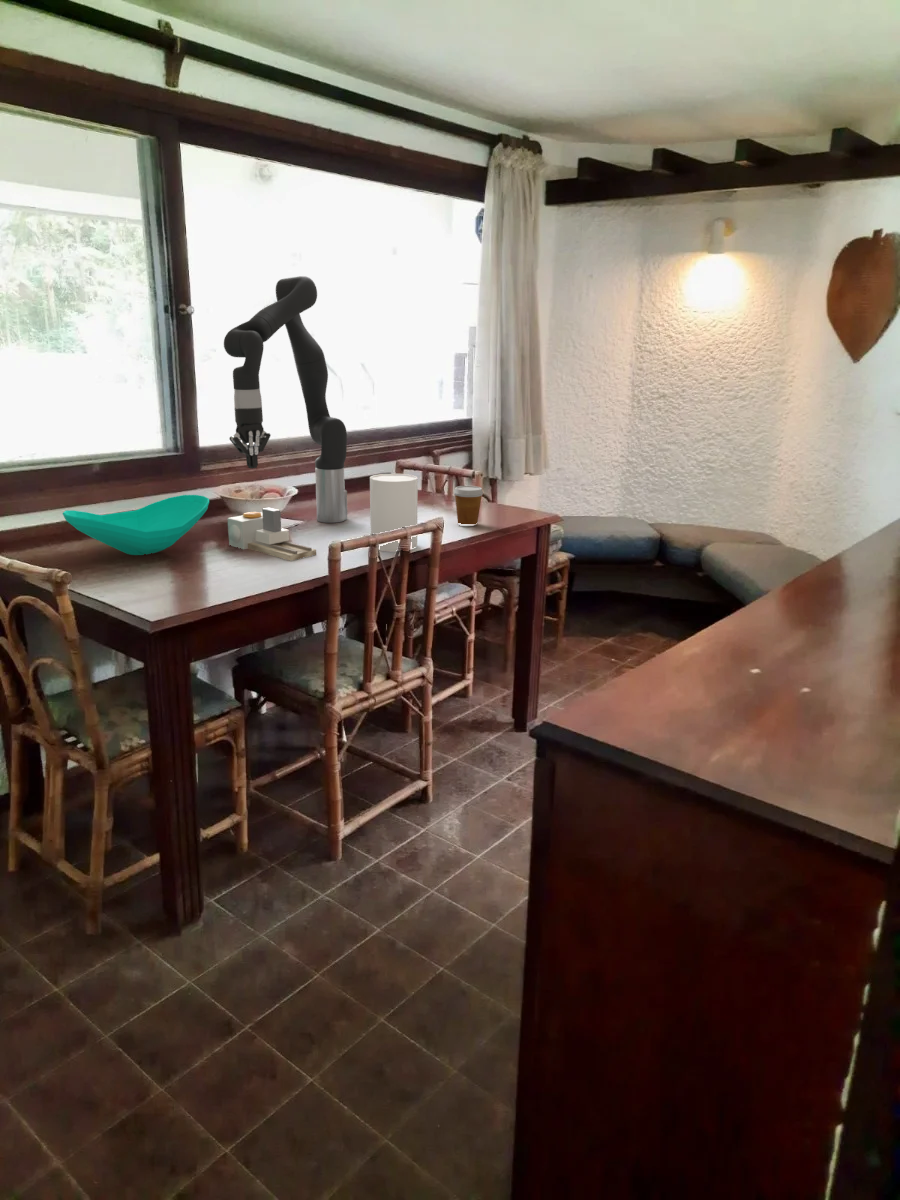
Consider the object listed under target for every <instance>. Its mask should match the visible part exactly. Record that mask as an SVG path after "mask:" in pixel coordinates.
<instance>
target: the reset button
mask: <svg viewBox="0 0 900 1200" xmlns="http://www.w3.org/2000/svg"><path fill="white" fill-rule="evenodd" d="M242 515H243V516H244V517H246V518H248V519H254V518H259V517H260V516H261V513H259V512H258V511H250V512H249V511H247V512H244V513H243V514H242Z"/></svg>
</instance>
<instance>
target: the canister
mask: <svg viewBox="0 0 900 1200" xmlns="http://www.w3.org/2000/svg"><path fill="white" fill-rule="evenodd" d="M418 479H419V478H418V476H416V475H413V474H407V473H406V474H405V473H381V474H374V475H371V476H369V503H370V504H369V505H370V506H369V511H370V513H369V515H370V516H369V519H370V521H369V522H370V527H369V528H370V535H371V534H373V533H380V532H385V531H390V530H394V529H398V528H401V527H405V526H410V525H416V524H417V525H418V490H419V489H418V488H419V487H418V482H419V481H418ZM411 542H412V548H414V547H416V546H417V547H418V535H417V536H416V537H412V539H411ZM398 544H399V543H398V541H395V542H392V543H388V544H386V545H383V546H380V552H390V553H397V552H396V550H397V547H398Z"/></svg>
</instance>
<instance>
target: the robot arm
mask: <svg viewBox="0 0 900 1200" xmlns="http://www.w3.org/2000/svg"><path fill="white" fill-rule="evenodd" d="M275 297H276V298H275V299H276V300H277V301H275V302H273V303H272V304H268V305H266V306H265V307H263V308H262V309H260V310H259V311H257V313H255V314H254V315H253V316H252V317H251V318H250V319H249V320H248V321H244V322H243V323H241V324H239V325H237V326H235V327H233V328H231V329H229V331H228V332H227V333H226V335H225V336H224V339H223V348H224V351H225V352H226V353H227V354H228V355H229V356H230V357H232V358H244V363H243V365H240V366H238V367H235V368H233V371H232V381H233V408H234V421H235V425H236V428H235V433H234V434H233V436H230V437H229V440H230V442H231V443H232V445H233V446H234V447H235V449H236V450H237V451H238V452H239V453H240V454H244V455H245V458H246V466H247V467H248V469H257V468H258V465H259V461H258V458H259V457H258V455H259V453H262V452H264V450H265V447H266V446H267V444H268V442H269V440H270V438H271V435H272V434H271V433H270V432H266V431H265V429H264V426H263V422H264V417H263V402H262V401H263V400H262V393H261V385H260V369H261V365H262V358H263V353H264V343H266V342H267V341H268V340H269V339H271V337H272V336H274V335H275V334H276V333H277V332H278V331H279V329H281V328H282V327H283V326H284V327H285V329H286V331H287V335H288V339H289V343H290V347H291V350H292V354H293V359H294V365H295V368H296V373H297V377H298V379H299V382H300V389H301V391H302V395H303V400H304V403H305V410H306V417H307V418H306V419H307V423H308V431H309V434H310V438H311V439H312V440H313V442H315V444H317V445H320V446H321V448H320V455H319V456H318V457H317V458H315V461H314V464H315V465H314V467H315V468H314V469H315V471H314V472H315V474H314V475H315V497H316V498H315V499H316V501H315V502H316V521H318V522H320V523H341V522H343V521H346V520H348V518H349V517H348V491H347V489H345V462H346V459H347V450H348V449H347V444H348V443H347V442H348V435H347V428H346V427H347V426H346V425H345V423H344V422H343V420H342V419H339V418H336V417H333V416H332V417H331V416H330V412H329V408H328V405H327V398H326V397H327V395H326V393H327V388H328V387H327V386H328V381H329V379H328V378H329V373H328V367H327V361H326V359H325V358H326V357H325V353H324V351H323V349H322V347H321V345H320V344H318V342H317V340H316V339H315V338H314V337H313V336H312V335H311V334H310V332H309V330H308V329H307V328H306V326H305V324H304V323H303V319H302V317H301V315H300V314H301V313H304V312H305V311H307V310H309V309H310V308H312V307H313V306H314V305H315V304H316V302H317V299H318V290H317V286H316V284H315V282H314V281H313V279H312V278H310V277H308V276H304V275H302V276H292V277H287V278H281V279H279V280H278V281H277V282H276V284H275Z"/></svg>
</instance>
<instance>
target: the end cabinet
mask: <svg viewBox="0 0 900 1200" xmlns="http://www.w3.org/2000/svg"><path fill="white" fill-rule="evenodd" d="M259 513H261V516H260V517H259V518H254V519H248V518H246V517H244V516H243V514H242V515H236V516H231V517H226V518H227V519H226V520H227V534H228V545H229V546H230V545H231V546H230V547H235V548H237V547H238V548H237V549H240V548H241V550H249V549H248V543H253V541H252V540H254V539H256V530H261V529H263V513H262V511H260V512H259Z"/></svg>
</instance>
